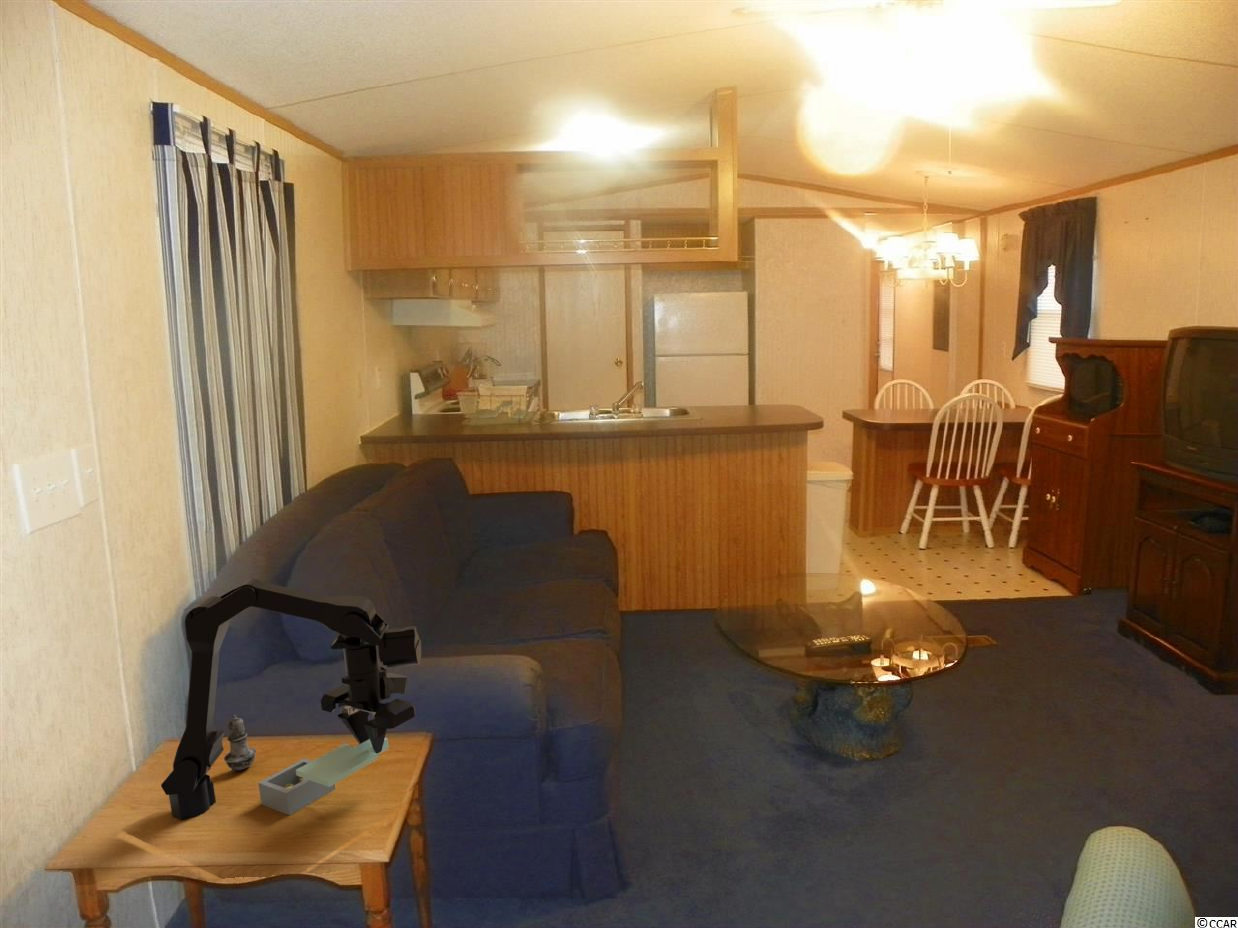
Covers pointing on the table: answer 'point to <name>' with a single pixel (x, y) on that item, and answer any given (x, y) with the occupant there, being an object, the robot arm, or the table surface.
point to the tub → (290, 790)
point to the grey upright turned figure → (238, 747)
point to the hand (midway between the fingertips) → (372, 750)
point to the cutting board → (340, 763)
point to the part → (288, 786)
